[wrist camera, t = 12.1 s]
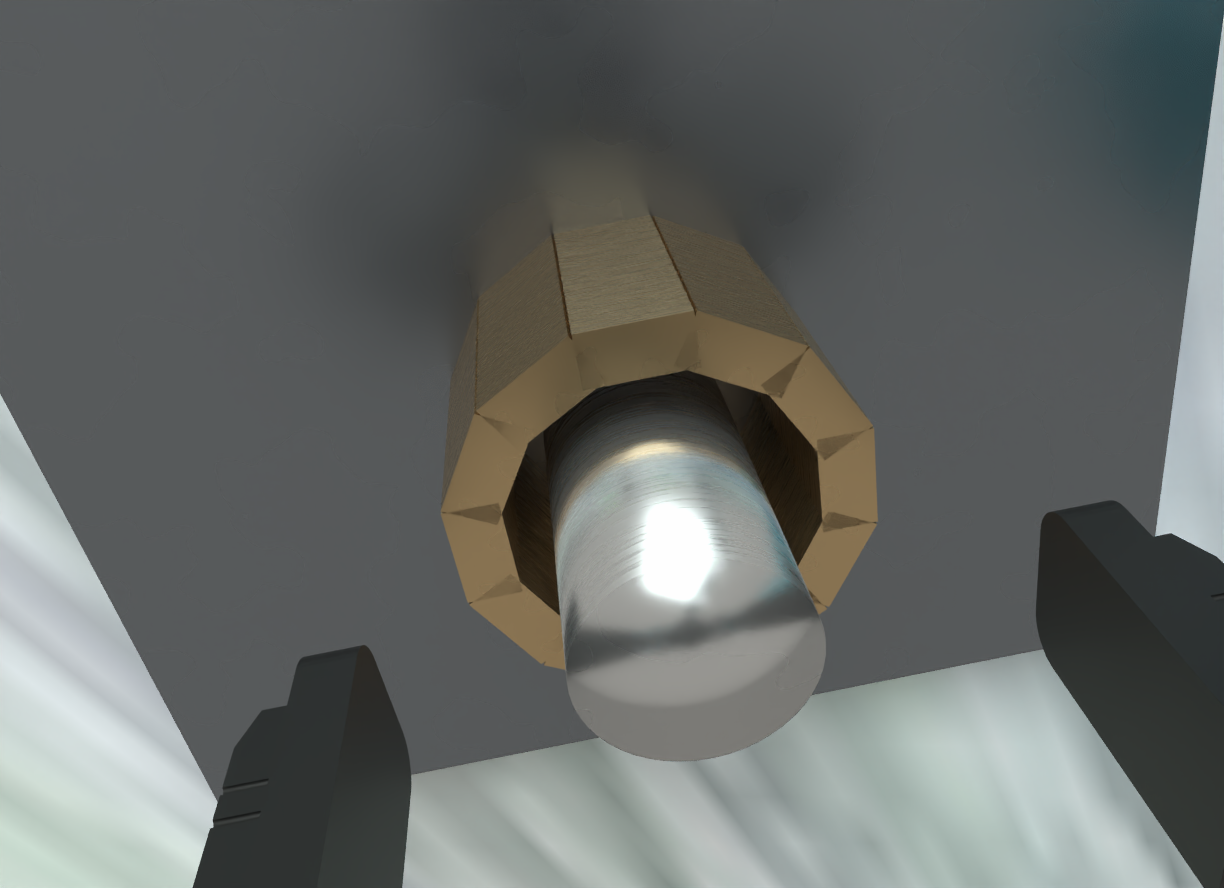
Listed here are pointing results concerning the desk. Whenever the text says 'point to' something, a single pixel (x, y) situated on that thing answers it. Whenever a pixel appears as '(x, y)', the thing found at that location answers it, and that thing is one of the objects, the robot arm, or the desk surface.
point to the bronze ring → (627, 351)
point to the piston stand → (609, 416)
